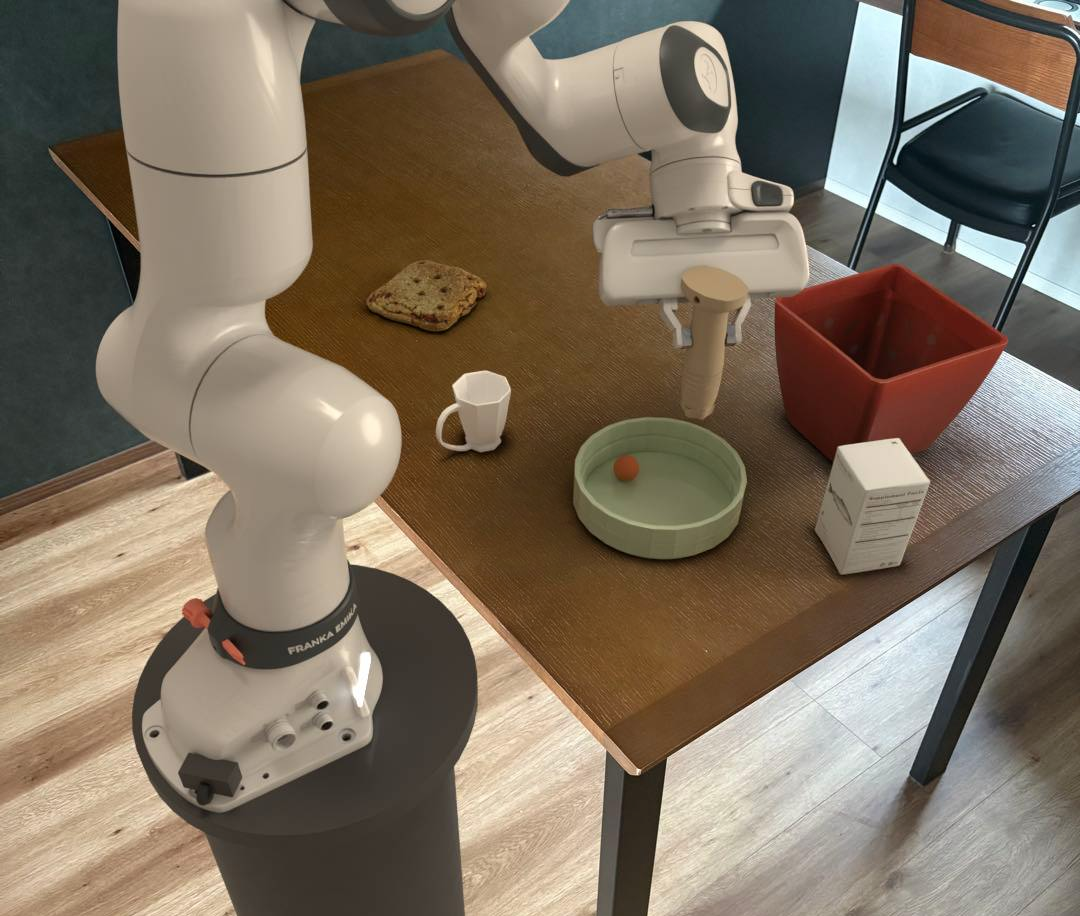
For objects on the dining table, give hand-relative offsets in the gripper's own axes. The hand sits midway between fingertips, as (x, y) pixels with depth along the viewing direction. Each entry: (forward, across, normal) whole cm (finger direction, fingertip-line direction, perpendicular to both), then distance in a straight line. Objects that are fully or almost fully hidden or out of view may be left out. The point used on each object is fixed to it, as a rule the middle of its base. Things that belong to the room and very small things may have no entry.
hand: (707, 346), depth 104 cm
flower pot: (+7, +25, +28) cm, 38 cm away
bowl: (+14, -2, +21) cm, 25 cm away
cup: (+6, -22, +30) cm, 37 cm away
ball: (+10, -5, +22) cm, 25 cm away
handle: (+6, 0, +6) cm, 9 cm away
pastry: (-18, -26, +53) cm, 62 cm away
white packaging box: (+21, +19, +14) cm, 32 cm away
